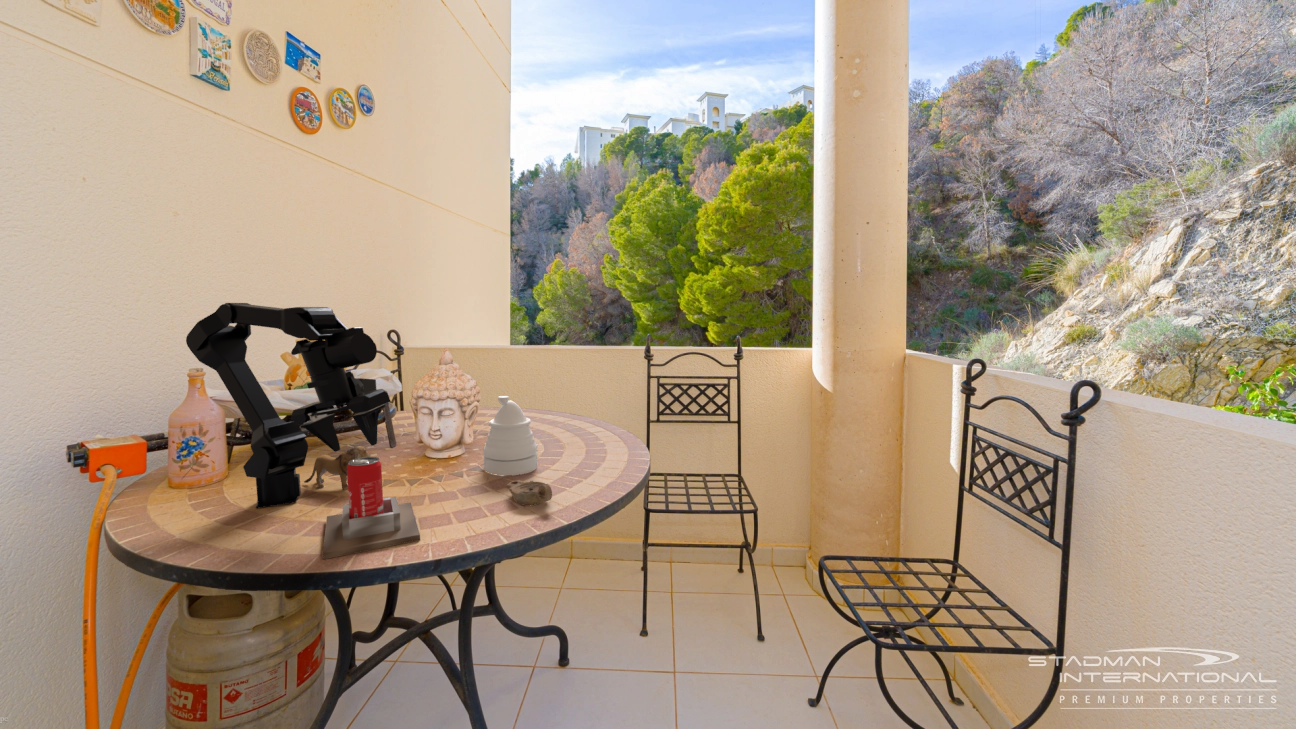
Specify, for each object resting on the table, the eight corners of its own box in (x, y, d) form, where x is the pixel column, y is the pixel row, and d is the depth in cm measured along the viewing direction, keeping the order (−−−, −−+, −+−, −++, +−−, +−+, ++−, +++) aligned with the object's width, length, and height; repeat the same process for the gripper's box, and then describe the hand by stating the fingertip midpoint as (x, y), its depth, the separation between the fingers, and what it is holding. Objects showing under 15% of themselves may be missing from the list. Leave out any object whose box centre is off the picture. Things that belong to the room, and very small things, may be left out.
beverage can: (369, 535, 86) (366, 466, 85) (343, 532, 87) (339, 464, 86) (390, 522, 91) (387, 457, 90) (365, 519, 92) (361, 455, 91)
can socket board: (322, 559, 80) (321, 535, 80) (327, 521, 94) (326, 500, 93) (420, 540, 87) (419, 517, 87) (411, 507, 101) (410, 487, 100)
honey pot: (508, 479, 118) (507, 402, 116) (472, 469, 125) (470, 396, 122) (548, 465, 128) (547, 394, 126) (512, 456, 135) (511, 389, 133)
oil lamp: (498, 497, 107) (497, 474, 106) (529, 489, 112) (529, 467, 111) (532, 516, 97) (532, 491, 97) (564, 506, 103) (564, 482, 102)
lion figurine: (375, 482, 114) (373, 443, 113) (361, 491, 109) (359, 450, 108) (312, 480, 115) (309, 441, 114) (295, 489, 110) (292, 448, 109)
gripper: (396, 353, 102) (421, 426, 105) (324, 369, 107) (350, 438, 110) (352, 367, 91) (382, 448, 94) (276, 384, 97) (306, 460, 100)
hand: (355, 447), depth 100 cm, fingers open, 9 cm apart
